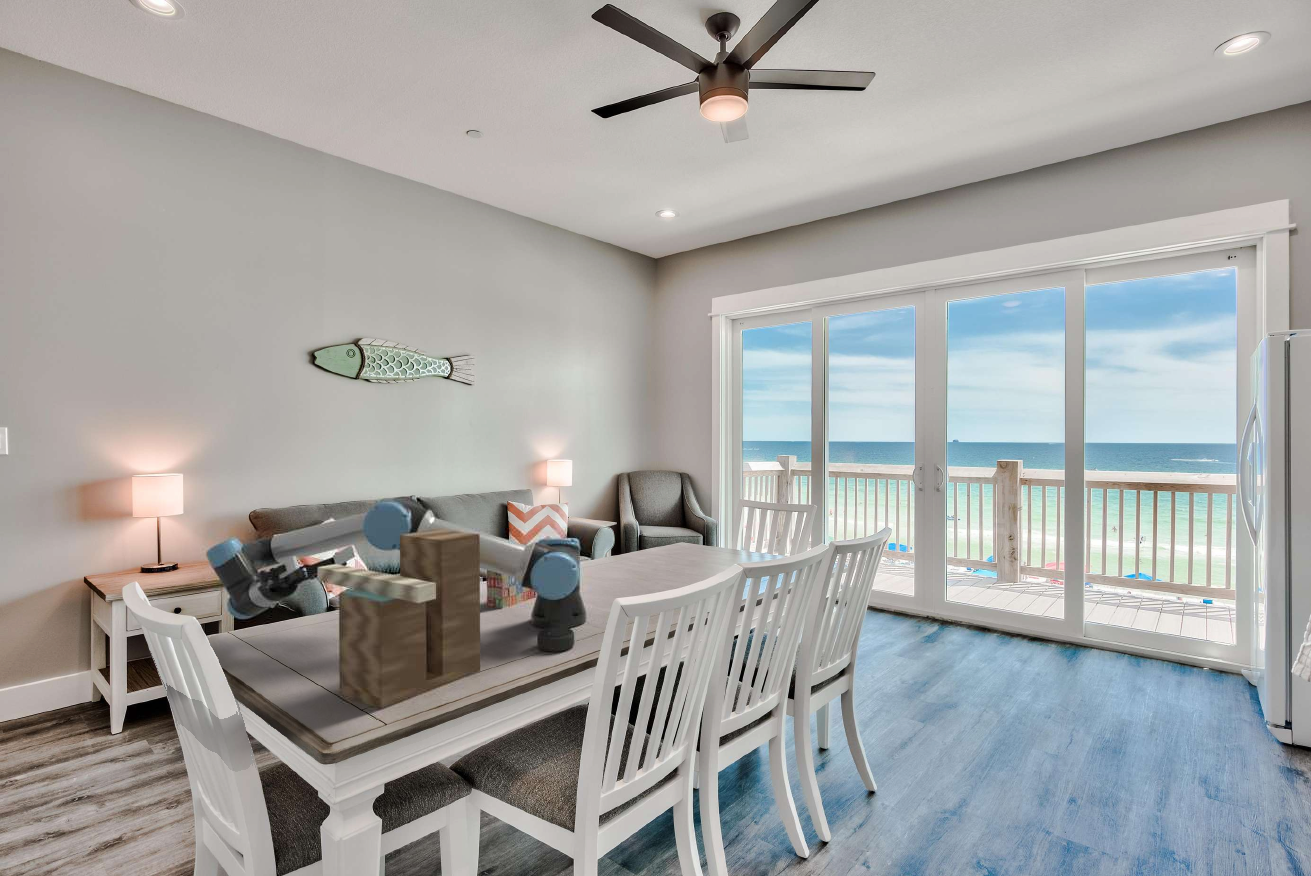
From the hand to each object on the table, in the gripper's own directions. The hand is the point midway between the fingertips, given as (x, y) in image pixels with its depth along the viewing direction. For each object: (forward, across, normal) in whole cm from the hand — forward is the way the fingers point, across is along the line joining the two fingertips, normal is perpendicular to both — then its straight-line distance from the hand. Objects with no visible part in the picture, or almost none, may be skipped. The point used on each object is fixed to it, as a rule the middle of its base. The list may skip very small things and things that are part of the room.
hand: (325, 556), depth 147 cm
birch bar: (+18, +4, -13) cm, 22 cm away
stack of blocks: (-12, -66, -23) cm, 71 cm away
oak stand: (+12, -2, -33) cm, 35 cm away
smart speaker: (+24, -34, -39) cm, 57 cm away
